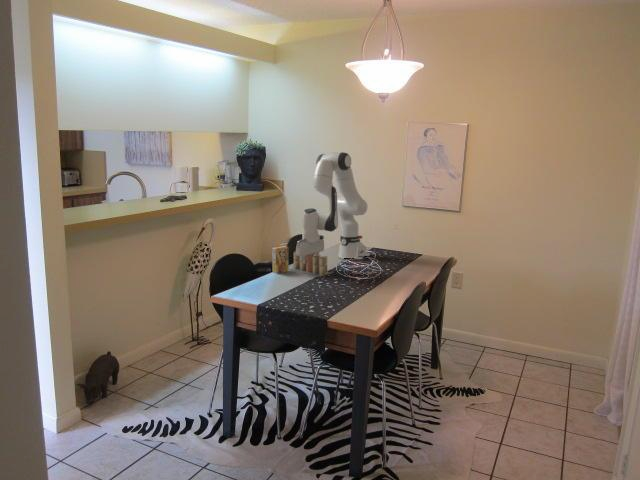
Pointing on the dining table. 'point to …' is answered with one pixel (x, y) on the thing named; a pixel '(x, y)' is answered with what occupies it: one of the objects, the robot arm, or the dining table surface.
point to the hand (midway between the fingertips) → (310, 261)
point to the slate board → (308, 272)
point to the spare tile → (309, 263)
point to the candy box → (280, 259)
